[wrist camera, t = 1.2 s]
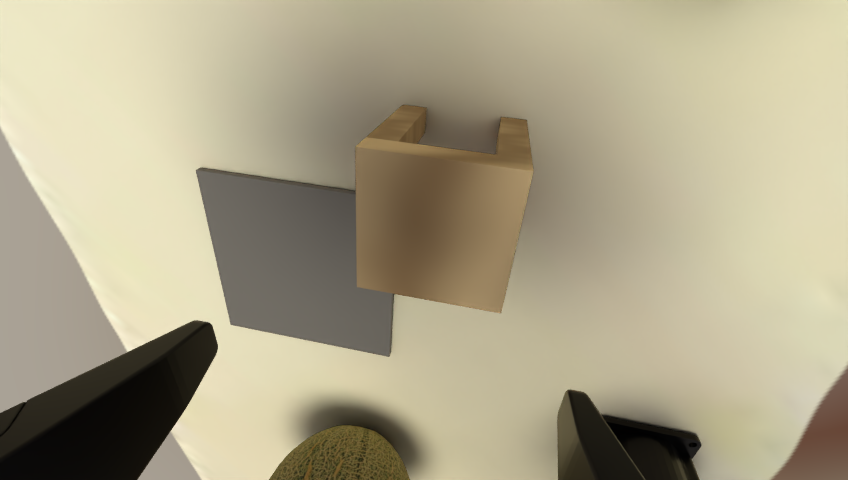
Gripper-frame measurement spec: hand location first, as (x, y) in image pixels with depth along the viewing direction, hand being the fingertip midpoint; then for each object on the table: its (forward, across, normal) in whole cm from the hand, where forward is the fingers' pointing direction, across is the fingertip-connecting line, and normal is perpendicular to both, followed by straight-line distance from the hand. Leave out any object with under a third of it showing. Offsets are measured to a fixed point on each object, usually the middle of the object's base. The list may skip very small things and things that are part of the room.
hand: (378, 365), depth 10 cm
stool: (+13, 0, 0) cm, 13 cm away
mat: (+13, +9, +8) cm, 17 cm away
